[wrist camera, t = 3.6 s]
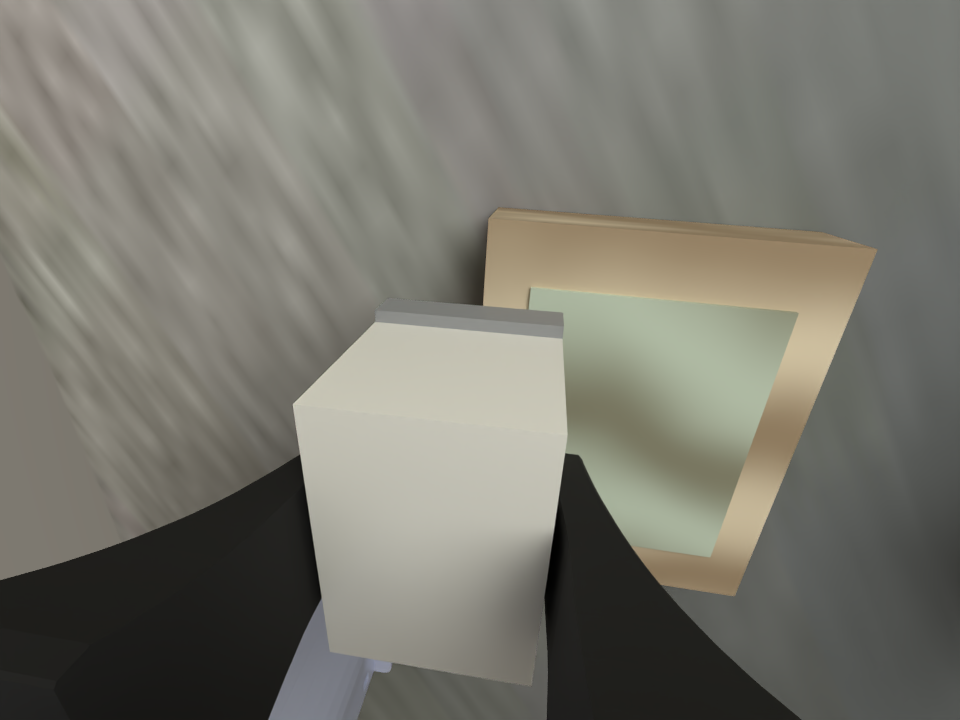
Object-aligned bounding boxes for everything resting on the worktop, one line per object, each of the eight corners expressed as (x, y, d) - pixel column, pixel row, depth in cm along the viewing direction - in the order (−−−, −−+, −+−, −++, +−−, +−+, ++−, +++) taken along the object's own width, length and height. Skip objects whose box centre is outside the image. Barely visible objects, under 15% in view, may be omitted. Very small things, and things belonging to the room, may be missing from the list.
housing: (536, 525, 15) (530, 694, 10) (397, 506, 15) (331, 660, 11) (563, 312, 12) (570, 418, 7) (387, 297, 12) (289, 388, 8)
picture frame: (711, 540, 22) (735, 599, 19) (477, 506, 23) (466, 557, 20) (821, 232, 16) (880, 250, 13) (498, 207, 17) (487, 219, 14)
